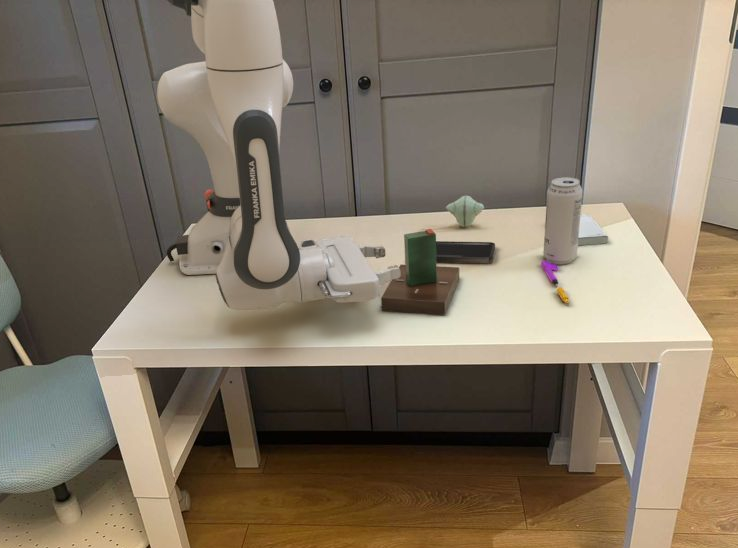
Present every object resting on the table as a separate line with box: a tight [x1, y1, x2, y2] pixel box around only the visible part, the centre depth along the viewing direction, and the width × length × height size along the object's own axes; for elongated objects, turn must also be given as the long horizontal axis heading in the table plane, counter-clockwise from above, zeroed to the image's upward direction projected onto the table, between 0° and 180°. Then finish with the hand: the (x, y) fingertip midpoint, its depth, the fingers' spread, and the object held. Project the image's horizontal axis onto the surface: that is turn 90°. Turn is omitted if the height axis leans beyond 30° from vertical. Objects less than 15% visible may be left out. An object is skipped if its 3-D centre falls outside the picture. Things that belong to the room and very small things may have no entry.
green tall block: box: [403, 228, 437, 286], centre depth 124 cm, size 5×2×9 cm, turn 101°
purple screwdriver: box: [540, 260, 570, 304], centre depth 125 cm, size 3×1×16 cm
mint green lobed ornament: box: [445, 195, 485, 228], centre depth 151 cm, size 8×4×7 cm, turn 74°
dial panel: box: [380, 264, 460, 316], centre depth 126 cm, size 14×11×3 cm
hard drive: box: [578, 213, 609, 246], centre depth 144 cm, size 2×8×12 cm
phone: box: [436, 240, 496, 264], centre depth 140 cm, size 8×1×15 cm
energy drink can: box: [542, 176, 584, 265], centre depth 130 cm, size 6×6×15 cm
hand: (391, 260), depth 123 cm, fingers open, 8 cm apart
